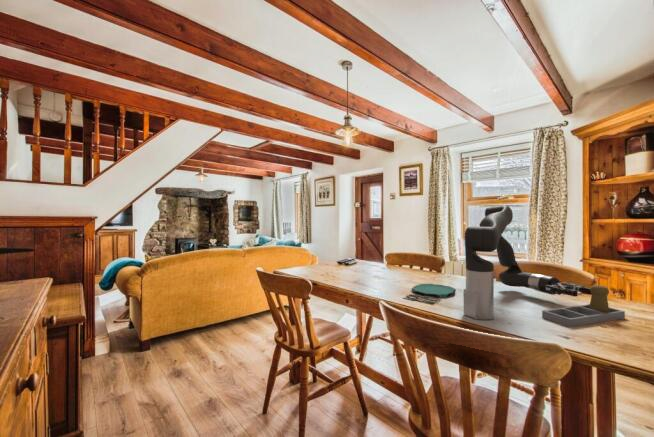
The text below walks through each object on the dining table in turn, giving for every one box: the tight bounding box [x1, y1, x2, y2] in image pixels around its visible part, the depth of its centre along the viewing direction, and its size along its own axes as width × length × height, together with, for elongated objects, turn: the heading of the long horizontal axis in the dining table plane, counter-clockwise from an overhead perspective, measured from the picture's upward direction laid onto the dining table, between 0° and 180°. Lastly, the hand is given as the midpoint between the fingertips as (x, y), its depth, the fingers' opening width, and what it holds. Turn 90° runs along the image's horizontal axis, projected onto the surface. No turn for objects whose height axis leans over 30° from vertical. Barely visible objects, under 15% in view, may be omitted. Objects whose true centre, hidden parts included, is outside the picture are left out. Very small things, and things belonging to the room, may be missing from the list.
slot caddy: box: [541, 303, 626, 328], centre depth 107 cm, size 27×10×2 cm, turn 107°
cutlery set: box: [402, 283, 456, 305], centre depth 139 cm, size 20×30×2 cm, turn 138°
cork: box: [589, 284, 610, 313], centre depth 109 cm, size 6×6×11 cm
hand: (584, 293), depth 114 cm, fingers open, 8 cm apart
